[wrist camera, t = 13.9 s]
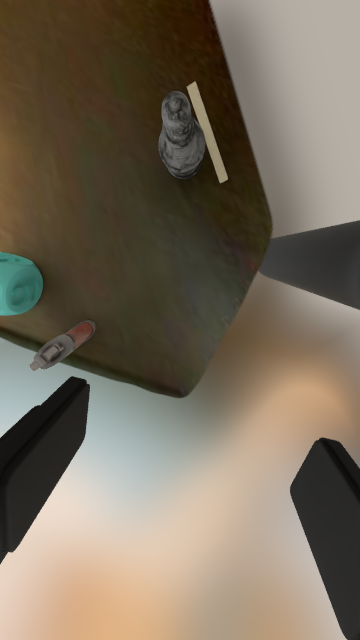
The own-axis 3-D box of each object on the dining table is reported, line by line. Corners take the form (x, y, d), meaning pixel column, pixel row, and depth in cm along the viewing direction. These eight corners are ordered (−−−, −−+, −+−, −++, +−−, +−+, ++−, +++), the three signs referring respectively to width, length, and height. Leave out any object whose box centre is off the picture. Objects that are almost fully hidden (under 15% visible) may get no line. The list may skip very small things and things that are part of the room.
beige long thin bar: (228, 179, 30) (228, 179, 30) (220, 183, 30) (220, 183, 30) (195, 81, 27) (195, 81, 27) (186, 87, 27) (186, 86, 27)
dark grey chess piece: (175, 189, 31) (161, 152, 20) (155, 148, 30) (127, 82, 18) (211, 166, 30) (219, 112, 18) (193, 122, 28) (188, 34, 17)
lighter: (71, 352, 41) (32, 382, 32) (59, 339, 40) (15, 366, 31) (100, 330, 39) (68, 354, 29) (87, 315, 38) (50, 336, 29)
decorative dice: (1, 249, 36) (-52, 248, 29) (46, 264, 36) (5, 267, 29) (-1, 293, 39) (-50, 303, 31) (41, 307, 39) (3, 320, 31)
